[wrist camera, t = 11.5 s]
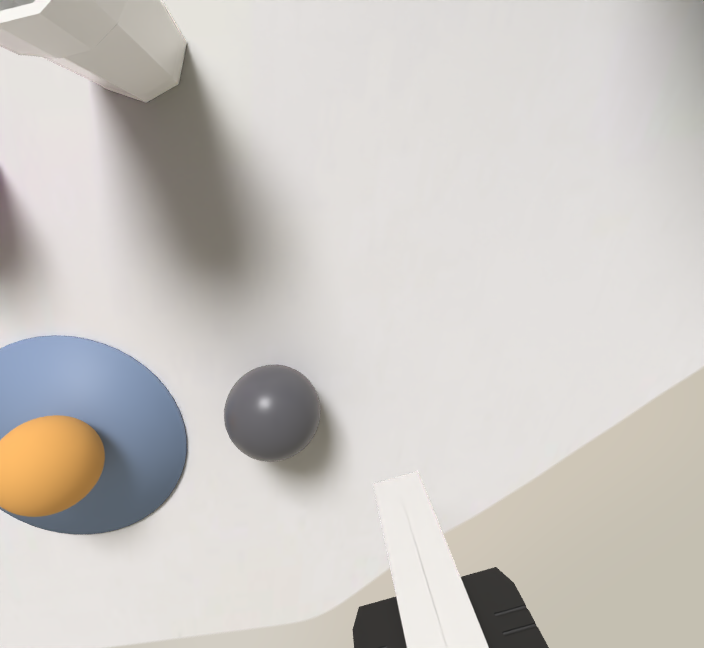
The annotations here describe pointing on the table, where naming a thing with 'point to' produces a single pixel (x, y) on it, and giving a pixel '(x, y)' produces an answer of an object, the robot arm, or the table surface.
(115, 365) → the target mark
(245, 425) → the gray ball
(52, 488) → the object ball
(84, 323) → the table surface
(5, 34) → the cup
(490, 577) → the robot arm
